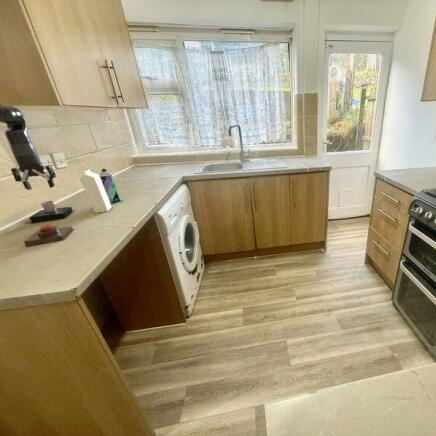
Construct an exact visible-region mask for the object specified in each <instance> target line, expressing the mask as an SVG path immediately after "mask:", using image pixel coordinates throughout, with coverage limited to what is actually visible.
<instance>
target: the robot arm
mask: <svg viewBox="0 0 436 436" xmlns="http://www.w3.org/2000/svg"><path fill="white" fill-rule="evenodd" d="M0 123H2V124H5V125H6V128H7V129H6V130H5V131H4V135H5V138H6V139H7V142H8V144H9V148H10V150H11V153H12V156H13V157H14V159H15V161H16V164H17V166H19V167H11V168H10V171H11V174H12V176H13V178H14V181H15V182H21V183H22V184H23V187H24V189H26V190H27V191H30V190H33V189H32V186H31V183H30V181H28V180H29V178H30V177H31V178H32V177H39V176H40V177H41V178H44V179H45V180H46V181H47V185H48V186H49V188H50V189H52V188H54V187H55V182H54V180H53V179H55V178H57V174H56V172H55V170H54V168H53V166H52V165H51V164H48V165H43V164H42V161H41V158H40V157H39V154H38V151H37V149H36V147H35V146H34V144H33V143H32V140H31V137H30V136H29V134H28V128H27V127H28V126H27V120H26V117H25V115H24V113H23V111H21V110H20V109H19V108H18V107H16V106H14V105H6V104H5V105H3V104H1V103H0ZM44 170H46V171H44ZM21 173H23V174H22V176H21Z"/></svg>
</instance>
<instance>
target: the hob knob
mask: <svg viewBox="0 0 436 436" xmlns="http://www.w3.org/2000/svg"><path fill="white" fill-rule="evenodd" d="M40 205H41V206H42V210H44V211H45V213H53V212H56V211H57V209H56V205H55V203H54V200H47V201H43V202H41V203H40Z"/></svg>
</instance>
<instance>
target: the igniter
mask: <svg viewBox="0 0 436 436" xmlns="http://www.w3.org/2000/svg"><path fill="white" fill-rule="evenodd" d="M52 227H53V230H50V231H47V232H41V230H40V229H38V230H37V231H35V232H34V233H33V234H32V235H30V236H29V237H28V238H26V239H25V240H24V241H23V243H24V245H25V247H26V248H27V247H32V246H38V245H39V246H40V245H45V244H50V243H56V242H61V241H65V239H66V238H67V237H68V236H69V235H70V234H71V233H72V232H73V231H74V229H73V227H72V226H63V227H58V226H54V225H52Z"/></svg>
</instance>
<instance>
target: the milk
mask: <svg viewBox="0 0 436 436" xmlns="http://www.w3.org/2000/svg"><path fill="white" fill-rule="evenodd" d="M80 182H81V184H82V187H83V188H84V191H85V194H86V195H87V199H88V200H89V203H90V204H91V207H92V209H93V212H94V213H95V214H96V213H105V212H109V211H110V210H111V208H112V203H110V200H109V198H108V195H107V193H106V190H105V188H104V185H103V183H102V180H101V178H100V175H99V173H95V172H93V171H91V169H90V168H89V169H87V170H85V171H84V175H83V176H81V178H80Z"/></svg>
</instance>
